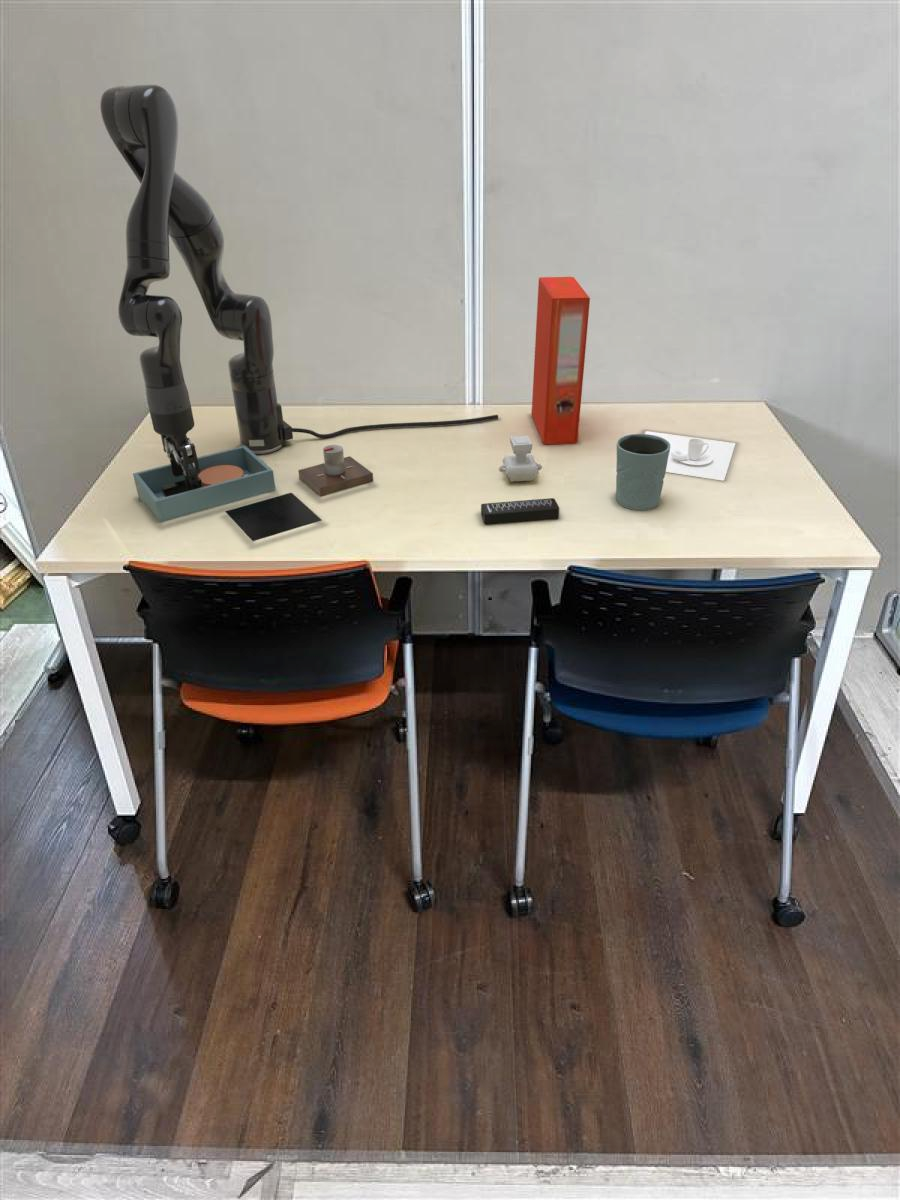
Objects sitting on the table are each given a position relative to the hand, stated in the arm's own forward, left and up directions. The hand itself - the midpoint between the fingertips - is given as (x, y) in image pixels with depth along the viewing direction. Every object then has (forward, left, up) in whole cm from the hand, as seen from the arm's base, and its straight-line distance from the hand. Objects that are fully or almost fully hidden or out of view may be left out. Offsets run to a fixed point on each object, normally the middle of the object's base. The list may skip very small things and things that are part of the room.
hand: (186, 483), depth 169 cm
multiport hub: (-50, +42, -4) cm, 66 cm away
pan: (-3, 0, -4) cm, 5 cm away
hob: (-11, +17, -4) cm, 21 cm away
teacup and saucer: (-97, +40, -4) cm, 105 cm away
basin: (-4, 0, -4) cm, 6 cm away
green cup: (-74, +50, -4) cm, 89 cm away
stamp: (-61, +29, -4) cm, 67 cm away
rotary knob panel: (-28, +10, -4) cm, 30 cm away
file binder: (-83, +13, -4) cm, 84 cm away
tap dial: (-28, +10, -1) cm, 29 cm away
